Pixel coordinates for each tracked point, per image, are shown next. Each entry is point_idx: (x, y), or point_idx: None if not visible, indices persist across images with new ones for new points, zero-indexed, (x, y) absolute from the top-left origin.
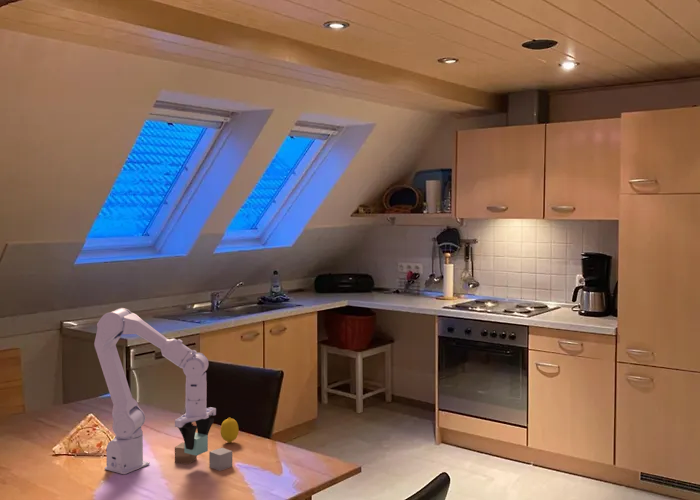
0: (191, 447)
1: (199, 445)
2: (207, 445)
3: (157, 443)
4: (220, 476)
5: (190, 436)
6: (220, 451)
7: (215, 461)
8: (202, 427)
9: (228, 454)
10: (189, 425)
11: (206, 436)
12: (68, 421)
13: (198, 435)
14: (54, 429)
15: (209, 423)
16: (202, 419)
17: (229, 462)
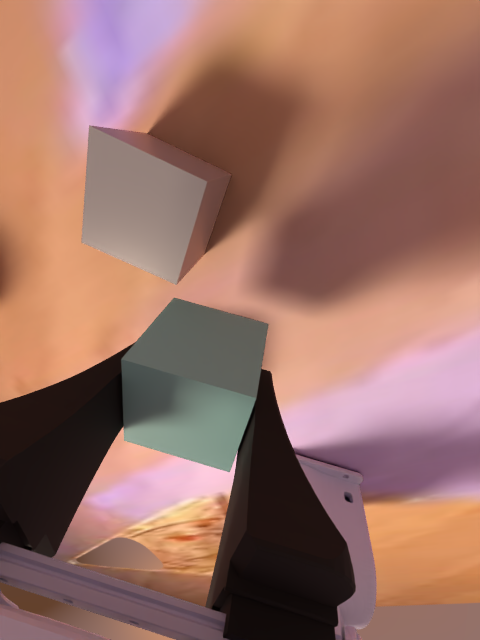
0: (271, 382)
1: (234, 350)
2: (161, 315)
3: (112, 464)
4: (309, 120)
5: (294, 460)
6: (141, 216)
7: (208, 218)
8: (85, 444)
9: (135, 143)
10: (284, 602)
11: (140, 359)
12: (118, 576)
13: (163, 412)
14: (159, 583)
15: (20, 439)
16: (24, 531)
17: (154, 141)
